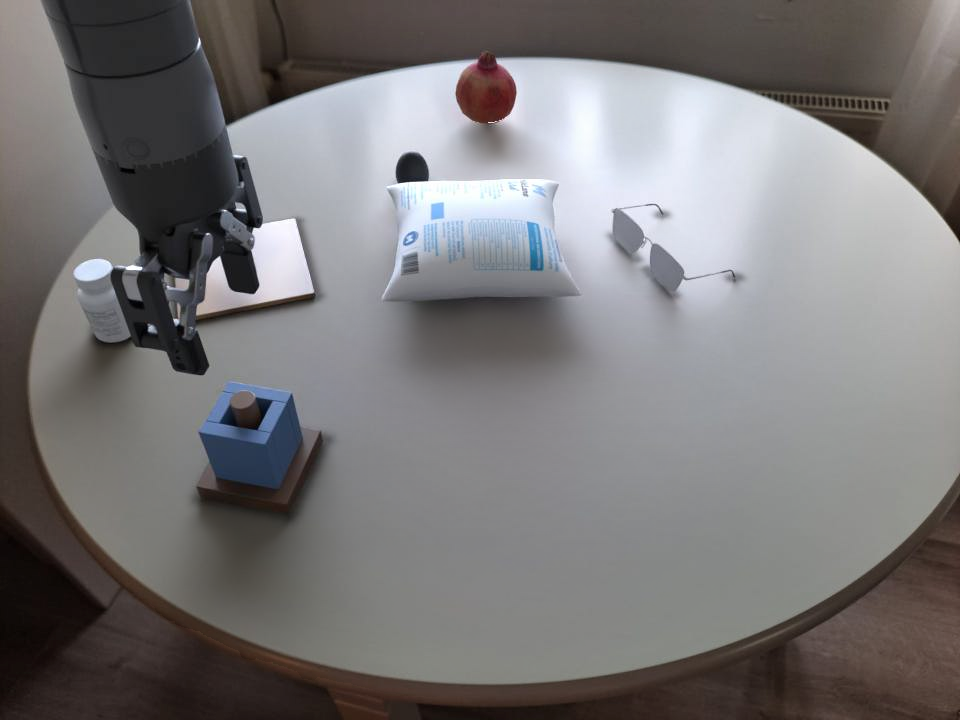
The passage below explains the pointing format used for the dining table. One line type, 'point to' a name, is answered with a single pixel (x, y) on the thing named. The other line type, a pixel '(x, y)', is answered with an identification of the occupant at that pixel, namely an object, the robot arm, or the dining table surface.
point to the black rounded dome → (411, 168)
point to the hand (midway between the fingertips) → (220, 328)
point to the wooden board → (260, 274)
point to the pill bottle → (100, 301)
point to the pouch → (477, 241)
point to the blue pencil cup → (253, 438)
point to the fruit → (486, 90)
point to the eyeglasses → (660, 259)
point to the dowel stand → (256, 495)
